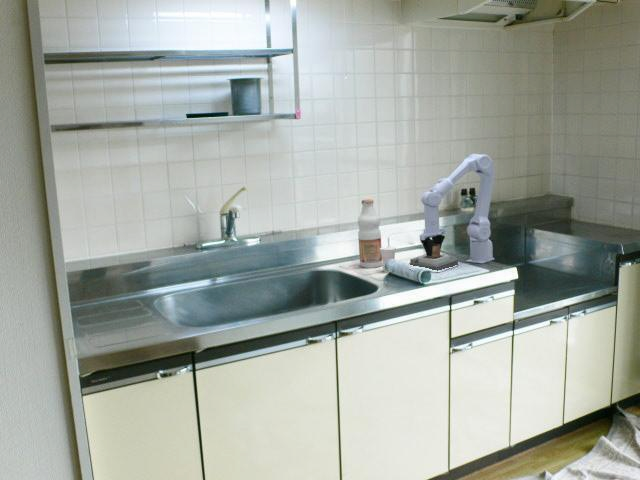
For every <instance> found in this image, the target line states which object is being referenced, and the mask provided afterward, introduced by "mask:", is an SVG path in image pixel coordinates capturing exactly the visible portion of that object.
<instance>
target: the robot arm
mask: <svg viewBox="0 0 640 480" xmlns="http://www.w3.org/2000/svg"><path fill="white" fill-rule="evenodd" d="M470 172H476V173H475V174H477V175H478V176H479V177H480V179H479V186H478V192H477V198H476V203H475V209H474V214H473V216H472V217H471V218H470V221H469V224H468V226H467V228H466V233H467V235H468V236H469V252H470V253H469V255H470V256H469V257H470V258H469V259H467V260H465V261H466V262H467V263H473V264H474V263H476V264H486V263H488V262H491V261H494V260H495V258H494V257H493V256H494V255H493V253H494V251H493V242H492V240H490V239H489V238H490V236H491V234H492V233H491V232H492V231H491V222H490V220H489V212H490V207H491V200H492V195H493V190H494V183H495V179H496V178H495V177H496V174H495V169H494V160H493V159H492V158H491V157H490V155H488V154H484V153H483V154H479V153H471V154H470V155H468V156H467V157H466V158H464V160H463V161H462V163H460V165H459V166H458V167H456V168H455V170H454V171H453V172H452V173H451V174H450V175H449V176H448V177H444V178H443V177H442V178H440V179H438V180H437V183H436V184H435V185H434V186H433V187H430V188H429V191H425V192H424V193H423V194H422V198H421V199H420V201H421V203H422V204H423V207H424V208H423V210H424V212H423V213H424V214H423V215H424V232H423V233H421V234H419V240H420V242H421V244H422V246H423V248H424V251H425V254H426V255H427V256H432V247H433V243H436V244H440V251H441V250H442V245H443V242H444V240H445V238H446V237H445V234H446V229H445V228H440V211H439V205H440V204H441V203H442V199H444V197H445V196H446V195H447V194H448V193H450V192H451V191H452V190H453V189H454V184H455V183H457V181H459V180H460V179H461V178H463V176H465V175H466V174H467V173H470Z"/></svg>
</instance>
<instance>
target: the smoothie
mask: <svg viewBox="0 0 640 480" xmlns="http://www.w3.org/2000/svg"><path fill="white" fill-rule="evenodd" d="M396 249H397V248H396V247H395V246H390V236H388V237H387V246H381V248H380V251H381V255H382V265H383V267H384V264H385V262H386V261H387V260H389V259H394V260H395V258H396V257H395V256H396ZM383 271H384V272H385V273H388V272H387V271H385V269H384V268H383Z"/></svg>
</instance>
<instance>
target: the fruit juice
mask: <svg viewBox="0 0 640 480" xmlns="http://www.w3.org/2000/svg"><path fill="white" fill-rule="evenodd" d="M361 205H362V208H361V213H360V214H359V217H358V219H357V226H358V228H359V230H358V235H357V236H358V238H357V239H358V251H359V252H358V253H359V263H360V264H359V265H360V266H359V267H360V268H363V267H364V268H365V269H374V268H375V269H376V268H380V267H382V265H383V261H382V255H381V251H380V248H381V247H382V235H381V230H380V227H379V226H380V221H381V220H380V217H379V216H378V214H377V213H376V211H375V208H374V199H363V200H361Z"/></svg>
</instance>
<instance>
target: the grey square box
mask: <svg viewBox="0 0 640 480" xmlns="http://www.w3.org/2000/svg"><path fill="white" fill-rule="evenodd" d="M409 261H410V262H409V263H408V265H409V264H410V265H413V266H419V267H425V268H429V269H432V270H437V271H438V270H442V269H445V268H449V267H453V266H455V265H458V266H459V259H455V258H454V259H453V258H450V256H449V254H448V255H446V254H440V258H437V259H430V258H428V256H427V255H426V253H425V254H422V255H420V256H417V257H413V258H410V259H409ZM453 268H454V267H453Z"/></svg>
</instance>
